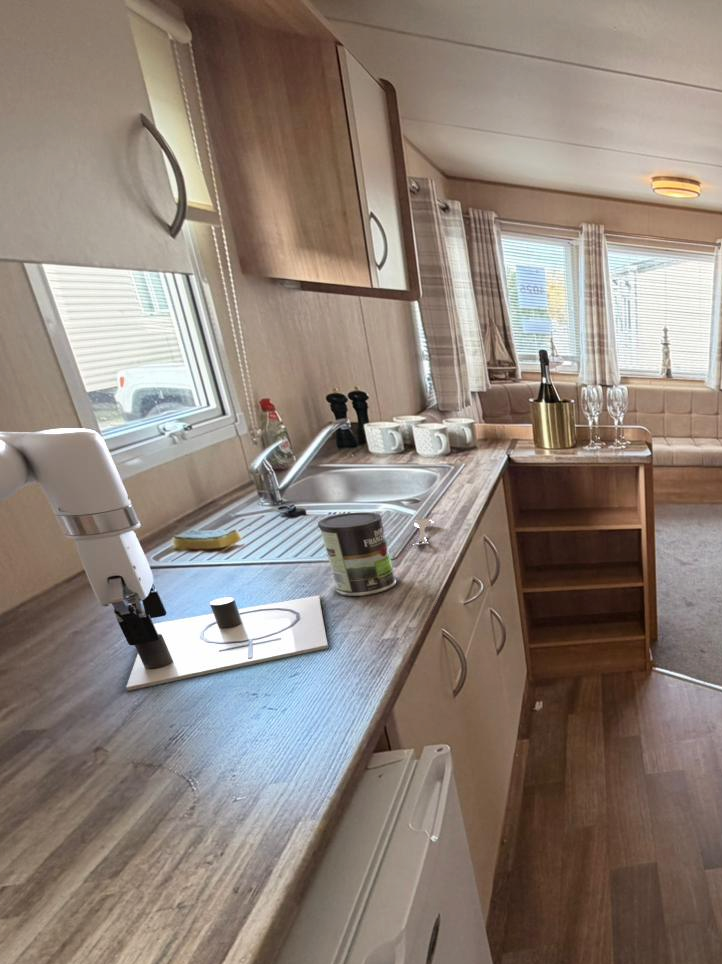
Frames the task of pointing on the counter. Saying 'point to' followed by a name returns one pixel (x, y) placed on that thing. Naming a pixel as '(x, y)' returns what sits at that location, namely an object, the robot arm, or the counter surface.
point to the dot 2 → (226, 613)
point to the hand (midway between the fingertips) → (149, 629)
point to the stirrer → (422, 529)
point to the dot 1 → (154, 654)
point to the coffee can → (357, 553)
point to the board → (235, 641)
